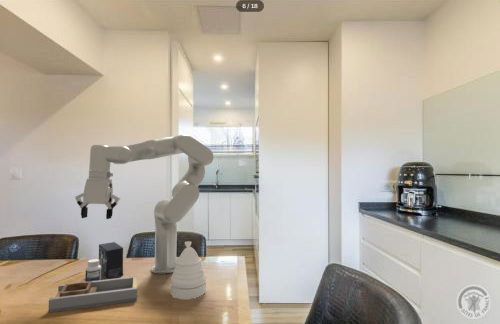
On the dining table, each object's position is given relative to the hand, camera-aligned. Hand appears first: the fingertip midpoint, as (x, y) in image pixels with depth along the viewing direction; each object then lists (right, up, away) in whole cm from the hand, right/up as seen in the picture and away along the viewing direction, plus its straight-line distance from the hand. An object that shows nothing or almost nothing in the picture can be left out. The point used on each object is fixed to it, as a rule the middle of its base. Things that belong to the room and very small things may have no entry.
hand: (96, 218), depth 118 cm
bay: (+8, -25, -15) cm, 30 cm away
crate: (+2, -24, -17) cm, 30 cm away
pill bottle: (+1, -26, -4) cm, 26 cm away
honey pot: (+39, -26, -8) cm, 47 cm away
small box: (+1, -26, +10) cm, 28 cm away
